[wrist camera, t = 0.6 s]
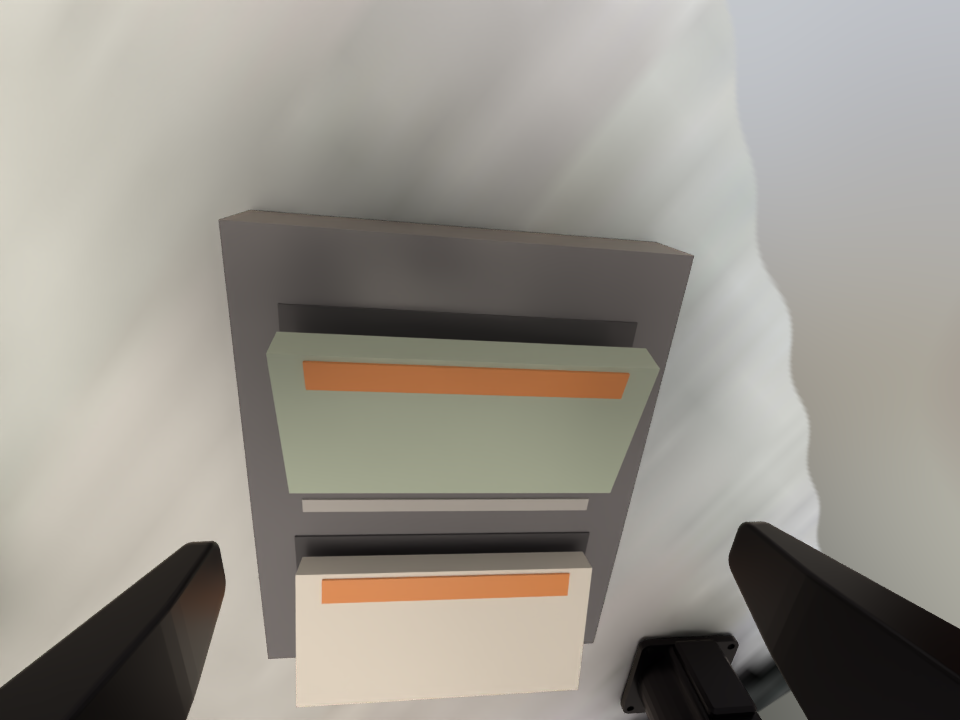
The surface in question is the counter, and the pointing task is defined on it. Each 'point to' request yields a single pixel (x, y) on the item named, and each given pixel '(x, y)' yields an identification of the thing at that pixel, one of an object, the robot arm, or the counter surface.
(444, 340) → the green rocker
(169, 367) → the counter surface
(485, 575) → the plate
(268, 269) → the rocker switch panel
